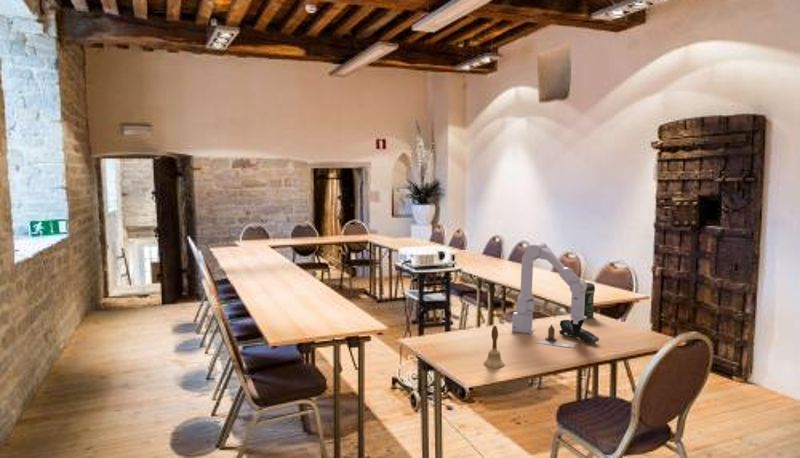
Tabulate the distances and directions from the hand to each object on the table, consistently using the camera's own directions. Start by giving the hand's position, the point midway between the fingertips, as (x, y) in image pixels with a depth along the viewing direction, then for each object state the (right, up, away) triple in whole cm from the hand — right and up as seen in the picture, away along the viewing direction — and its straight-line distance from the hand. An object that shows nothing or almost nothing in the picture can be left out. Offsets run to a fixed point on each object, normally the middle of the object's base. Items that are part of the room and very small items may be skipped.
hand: (576, 335), depth 241 cm
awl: (-11, -2, +3) cm, 11 cm away
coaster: (-11, -3, +3) cm, 12 cm away
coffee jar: (+19, +1, +44) cm, 48 cm away
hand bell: (-43, -6, -29) cm, 52 cm away
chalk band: (-10, -3, -3) cm, 12 cm away
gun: (+2, -3, +5) cm, 6 cm away
